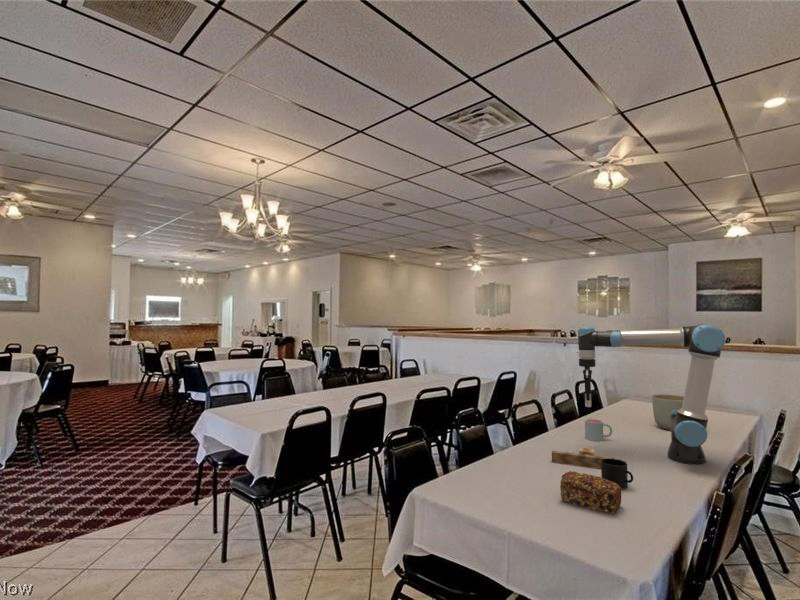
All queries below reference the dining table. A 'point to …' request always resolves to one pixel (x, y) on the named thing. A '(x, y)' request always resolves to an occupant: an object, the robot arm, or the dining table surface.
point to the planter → (665, 408)
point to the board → (577, 459)
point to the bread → (590, 492)
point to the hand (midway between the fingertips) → (588, 406)
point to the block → (586, 451)
